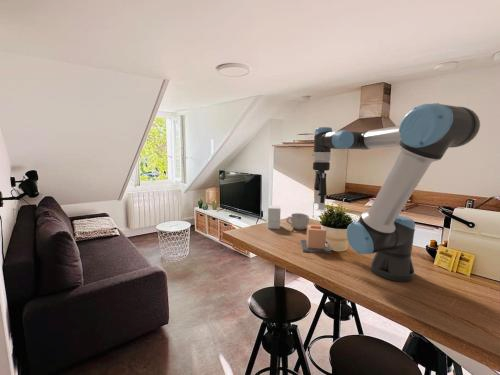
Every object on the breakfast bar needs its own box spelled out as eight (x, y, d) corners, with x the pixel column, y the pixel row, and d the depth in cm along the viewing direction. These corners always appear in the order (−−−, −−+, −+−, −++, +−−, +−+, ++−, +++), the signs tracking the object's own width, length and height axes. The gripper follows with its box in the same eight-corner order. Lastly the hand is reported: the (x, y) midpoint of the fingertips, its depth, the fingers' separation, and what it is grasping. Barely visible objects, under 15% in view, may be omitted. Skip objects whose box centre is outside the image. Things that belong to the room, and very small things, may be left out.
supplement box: (279, 225, 159) (280, 205, 157) (279, 229, 152) (280, 208, 150) (267, 224, 160) (268, 205, 158) (267, 228, 153) (268, 208, 151)
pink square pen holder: (322, 242, 129) (323, 225, 127) (325, 248, 121) (326, 230, 119) (306, 241, 129) (307, 224, 128) (307, 247, 122) (308, 229, 120)
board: (331, 253, 119) (332, 238, 118) (302, 251, 120) (303, 236, 119) (326, 243, 131) (327, 230, 129) (300, 242, 132) (301, 228, 131)
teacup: (305, 225, 160) (306, 213, 159) (310, 231, 150) (311, 218, 148) (283, 225, 160) (284, 213, 158) (287, 231, 149) (288, 217, 148)
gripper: (310, 160, 131) (307, 200, 134) (317, 162, 107) (314, 212, 110) (325, 160, 130) (322, 201, 133) (335, 163, 106) (332, 213, 109)
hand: (318, 206), depth 122 cm, fingers open, 13 cm apart
